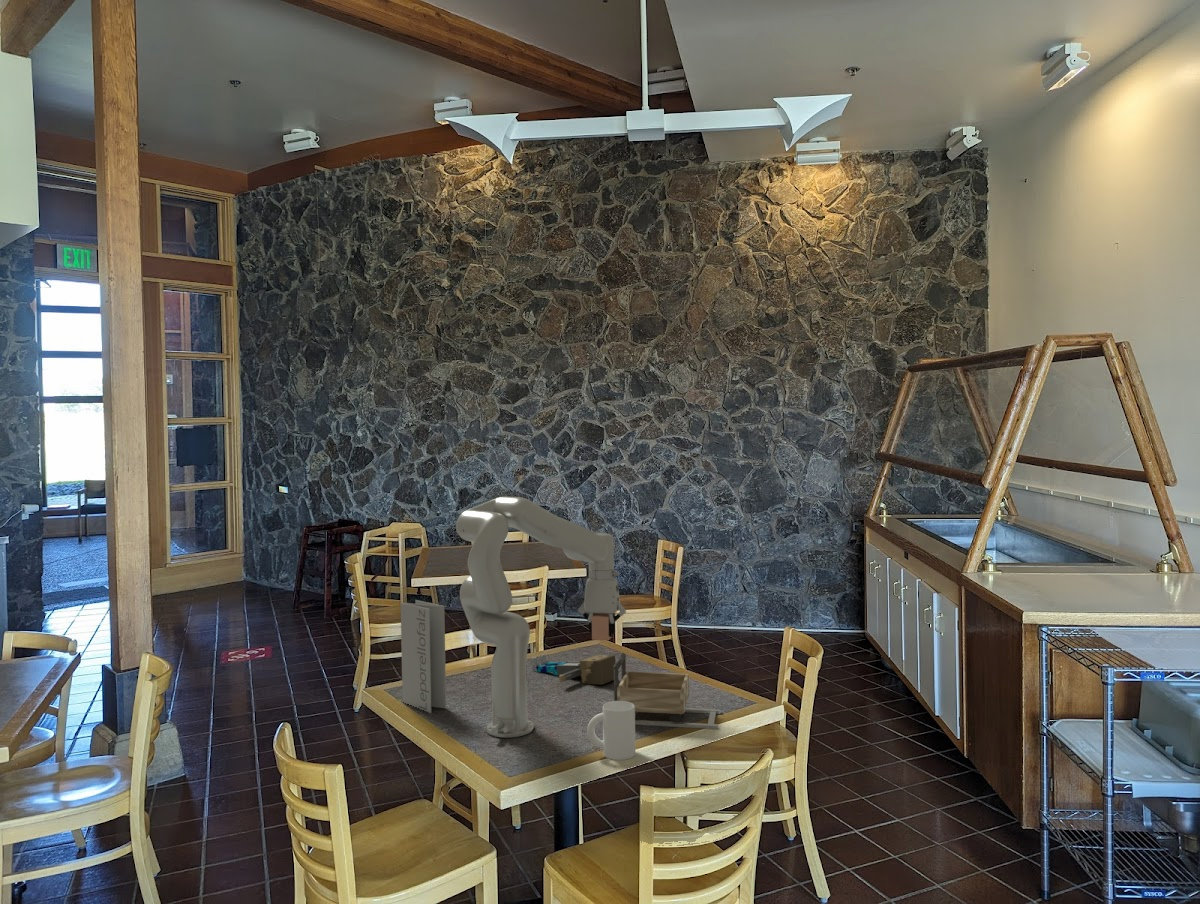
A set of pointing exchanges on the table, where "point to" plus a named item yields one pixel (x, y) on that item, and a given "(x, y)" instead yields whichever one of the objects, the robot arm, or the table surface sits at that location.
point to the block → (600, 626)
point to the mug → (615, 730)
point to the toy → (580, 668)
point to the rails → (689, 725)
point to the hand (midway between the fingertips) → (602, 634)
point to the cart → (652, 690)
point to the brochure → (423, 655)
